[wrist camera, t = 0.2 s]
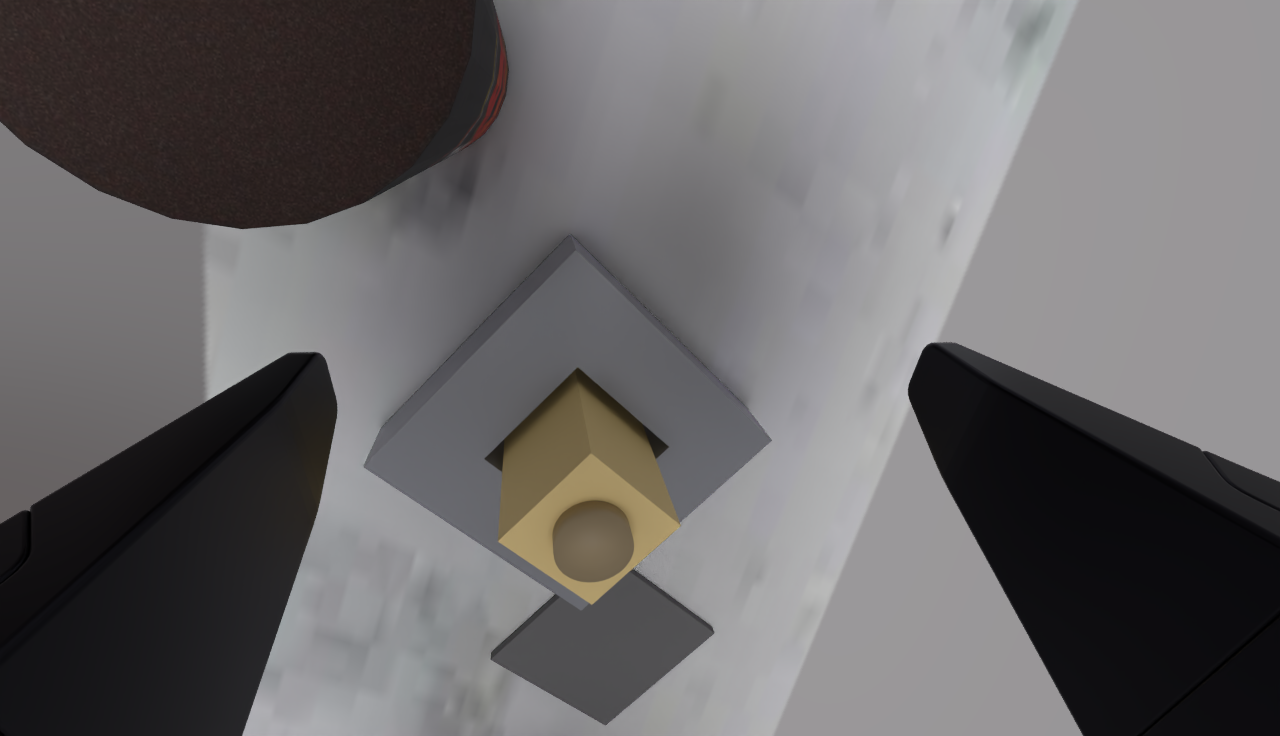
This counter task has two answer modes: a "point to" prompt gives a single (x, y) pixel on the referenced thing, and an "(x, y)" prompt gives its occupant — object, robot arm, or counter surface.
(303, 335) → the counter surface
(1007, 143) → the counter surface
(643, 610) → the pad
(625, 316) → the socket block
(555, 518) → the plug
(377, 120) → the deodorant
